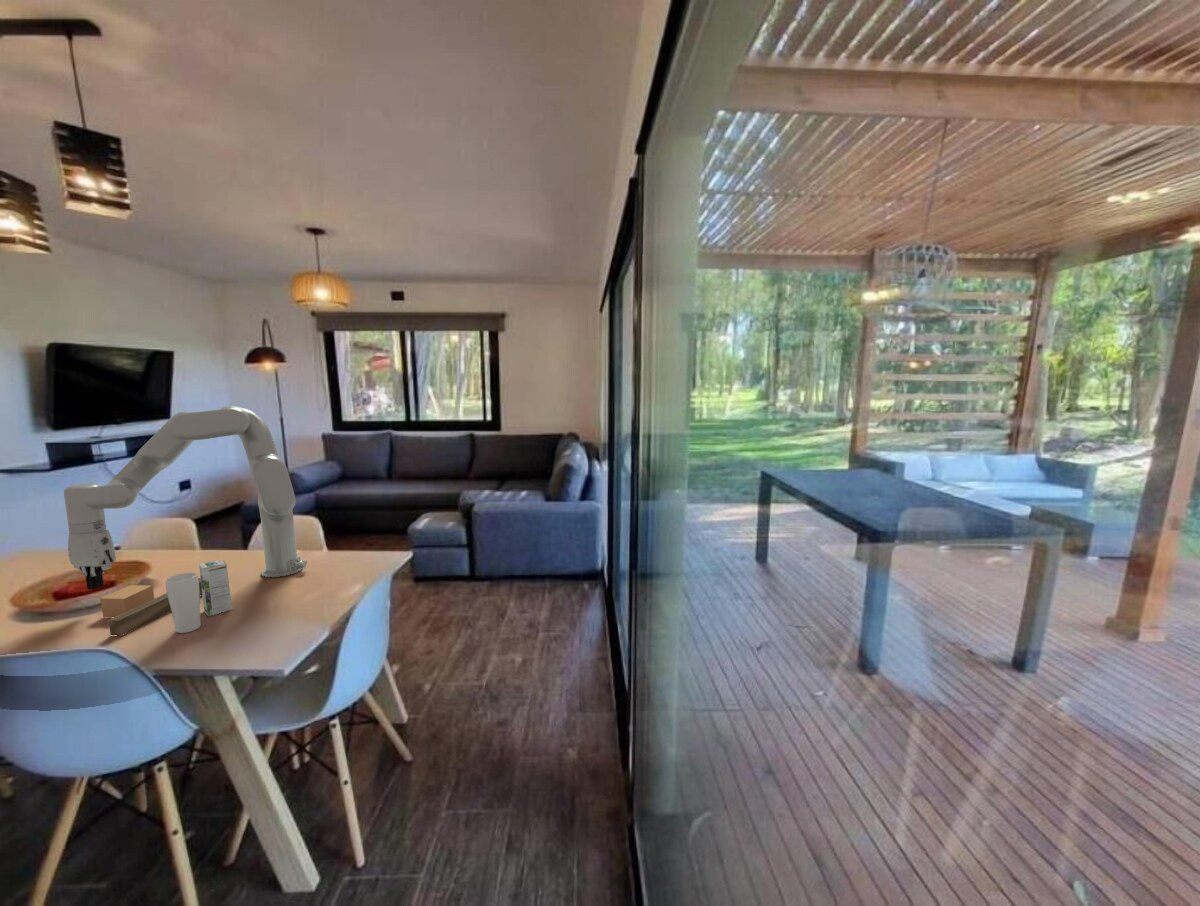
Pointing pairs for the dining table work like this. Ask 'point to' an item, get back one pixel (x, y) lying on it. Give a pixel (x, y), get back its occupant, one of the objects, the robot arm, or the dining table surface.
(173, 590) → the drinking glass
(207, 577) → the syrup box
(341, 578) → the dining table surface
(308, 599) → the dining table surface
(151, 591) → the tan block
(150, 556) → the dining table surface
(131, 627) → the walnut board
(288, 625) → the dining table surface
